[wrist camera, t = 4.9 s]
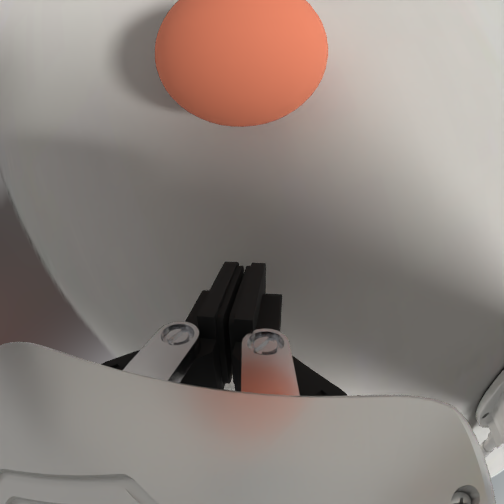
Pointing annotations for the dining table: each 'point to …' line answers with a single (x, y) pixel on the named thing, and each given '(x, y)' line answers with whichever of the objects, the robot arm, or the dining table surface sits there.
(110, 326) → the dining table surface
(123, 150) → the dining table surface
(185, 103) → the ball
